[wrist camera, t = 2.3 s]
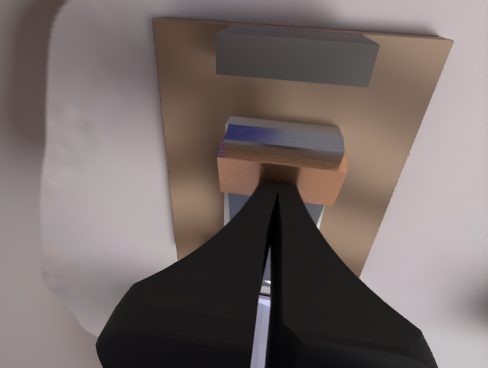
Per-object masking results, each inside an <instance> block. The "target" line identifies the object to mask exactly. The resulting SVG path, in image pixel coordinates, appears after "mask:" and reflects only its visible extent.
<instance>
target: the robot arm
mask: <svg viewBox="0 0 488 368" xmlns="http://www.w3.org/2000/svg"><path fill="white" fill-rule="evenodd" d="M269 249H270V297H267V296H261V295H260V291H261V286H262V281H263V277H264V272H265V268H266V263H267V258H268V254H269ZM96 350H97V354H98V357H99V360H100V362H101V364H102V366H103V368H438V366H437V364H436V361H435V359H434V357H433V354H432V352H431V350H430V348H429V346H428V344H427V342H426V340H425V338H424V336H423V334H422V332H421V330H420V329H418V328H417V327H416V326H415V325H413V324H412V323H411V322H409V321H408V320H407V319H406V318H404V317H403V316H402V315H400V314H399V313H398V312H397V311H395V310H394V309H393V308H392V307H390V306H389V305H388V304H387V303H385V302H384V301H383V300H382V299H381V298H380V297H379V296H377V295H376V294H375V293H374V292H373V291H372V290H371V289H370V288H368V287H367V286H366V285H365V284H364V283H363V282H362V281H361V280H360V279H359V278H358V277H357V276H356V275H355V274H354V273H353V272H352V271H351V270H350V269H349V267H348V266H347V265H346V264H345V263H344V262H343V261H342V260H341V259H340V257H339V256H338V255H337V254H336V252H335V251H334V250H333V249H332V247H331V246H330V245H329V243H328V242H327V241H326V239H325V238H324V236H323V235H322V233H321V232H320V230H319V229H318V227H317V226H316V224H315V222H314V221H313V219H312V217H311V215H310V214H309V212H308V210H307V208H306V206H305V204H304V202H303V200H302V198H301V195H300V193H299V190H298V187H297V186H296V185H295V184H291V183H282V182H274V181H266V180H261V181H260V182H259V183H258V185H257V187H256V189H255V190H254V192H253V193H252V195H251V196H250V198H249V199H248V200H247V201H246V203H245V204H244V205H243V206H242V208H241V209H240V210H239V211H238V212H237V213H236V214H235V215H234V217H233V218H232V219H231V220H230V221H229V222H228V223H227V224H226V225H225V226H224V227H223V228H222V229H221V230H219V231H218V232H217V233H216V234H215V235H214V236H213V237H211V238H210V239H209V240H208V241H206V242H205V243H204V244H202V245H201V246H200V247H198V248H197V249H196V250H194V251H193V252H191V253H190V254H188V255H187V256H185V257H183V258H182V259H180V260H179V261H177V262H175V263H174V264H172V265H171V266H169V267H167V268H165V269H164V270H162V271H160V272H158V273H156V274H154V275H152V276H150V277H147V278H145V279H143V280H141V281H139V282H137V283H135V284H133V285H132V286H131V287H130V289H129V290H128V291H127V293H126V294H125V295H124V297H123V298H122V299H121V301H120V302H119V304H118V305H117V306H116V308H115V309H114V311H113V313H112V315H111V316H110V318H109V320H108V322H107V323H106V325H105V327H104V329H103V330H102V332H101V334H100V336H99V337H98V340H97V343H96Z"/></svg>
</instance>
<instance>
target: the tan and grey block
mask: <svg viewBox="0 0 488 368" xmlns="http://www.w3.org/2000/svg"><path fill="white" fill-rule="evenodd" d="M217 163H218V173H219V182H220V191H221V192H226V193H228V199H229V213H230V220H231V219H232V218H233V217H234V215H235V214H236V213H237V212H238V211H239V210H240V209H241V208H242V206H243V205H244V204H245V203H246V201H247V200H248V199H249V198H250V196H251V195H252V193H253V192H254V190H255V189H256V187H257V185H258V183H259V182H260V181H261V180H266V181H274V182H282V183H291V184H295V185H296V186H297V187H298V190H299V193H300V195H301V198H302V200H303V202H304V204H305V206H306V208H307V210H308V212H309V214H310V215H311V217H312V219H313V221H314V222H315V224H316V226H317V223H318V220H319V218H320V215H321V213H322V210H323V208H324V205H328V206H333V205H334V203H335V200H336V198H337V196H338V194H339V191H340V189H341V187H342V184H343V182H344V180H345V177H346V175H347V173H348V171H347V159H346V151H345V148H344V136H341V135H331V134H322V133H312V132H302V131H293V130H283V129H273V128H264V127H254V126H244V125H235V124H228V127H227V131H226V134H225V138H222V141H221V145H220V148H219V152H218V155H217ZM262 286H268V287H270V249H269V254H268V258H267V263H266V268H265V272H264V277H263V281H262Z"/></svg>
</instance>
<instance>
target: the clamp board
mask: <svg viewBox="0 0 488 368" xmlns="http://www.w3.org/2000/svg"><path fill="white" fill-rule="evenodd" d="M152 23H153V33H154V42H155V51H156V61H157V70H158V80H159V89H160V98H161V108H162V117H163V127H164V136H165V146H166V155H167V164H168V174H169V183H170V193H171V202H172V212H173V221H174V230H175V240H176V249H177V259H178V260H180V259H182V258H183V257H185V256H187V255H188V254H190V253H191V252H193V251H194V250H196V249H197V248H198V247H200V246H201V245H202V244H204V243H205V242H206V241H208V240H209V239H210V238H211V237H213V236H214V235H215V234H216V233H217V232H218V231H219V230H221V229H222V228H223V227H224V226H225V225H226V224H227V223H228V222H229V221H230V213H229V199H228V193H226V192H221V191H220V182H219V173H218V163H217V155H218V152H219V148H220V145H221V141H222V138H225V134H226V131H227V127H228V124H235V125H244V126H254V127H264V128H273V129H283V130H293V131H302V132H312V133H322V134H331V135H341V136H344V148H345V151H346V159H347V171H348V173H347V175H346V177H345V180H344V182H343V184H342V187H341V189H340V191H339V194H338V196H337V198H336V200H335V203H334V205H333V206H328V205H324V208H323V210H322V213H321V215H320V218H319V220H318V223H317V227H318V229H319V230H320V232H321V233H322V235H323V236H324V238H325V239H326V241H327V242H328V243H329V245H330V246H331V247H332V249H333V250H334V251H335V252H336V254H337V255H338V256H339V257H340V259H341V260H342V261H343V262H344V263H345V264H346V265H347V266H348V267H349V269H350V270H351V271H352V272H353V273H354V274H355V275H356V276H357V277H358V278H359V277H360V274H361V272H362V269H363V267H364V264H365V262H366V259H367V257H368V254H369V252H370V249H371V247H372V244H373V242H374V239H375V237H376V234H377V232H378V229H379V227H380V224H381V222H382V219H383V217H384V214H385V212H386V209H387V207H388V204H389V202H390V199H391V197H392V194H393V192H394V189H395V187H396V184H397V182H398V179H399V177H400V174H401V172H402V169H403V167H404V164H405V162H406V159H407V157H408V154H409V152H410V149H411V147H412V145H413V142H414V140H415V137H416V135H417V132H418V130H419V127H420V125H421V122H422V120H423V117H424V115H425V112H426V110H427V107H428V105H429V102H430V100H431V97H432V95H433V92H434V90H435V87H436V85H437V82H438V80H439V77H440V75H441V72H442V70H443V67H444V65H445V62H446V60H447V57H448V55H449V52H450V50H451V47H452V45H453V42H454V41H453V40H450V39H446V38H443V37H436V36H422V35H408V34H393V33H379V32H365V31H351V30H336V29H322V28H308V27H294V26H279V25H265V24H251V23H237V22H222V21H208V20H194V19H180V18H165V17H163V18H157V19H152Z"/></svg>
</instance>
